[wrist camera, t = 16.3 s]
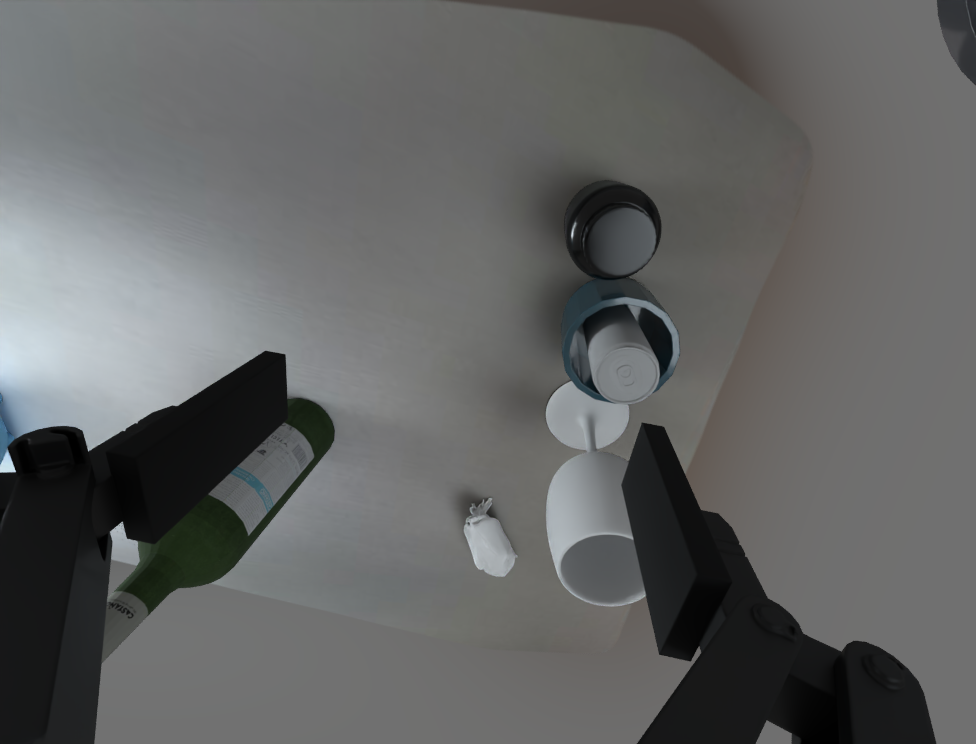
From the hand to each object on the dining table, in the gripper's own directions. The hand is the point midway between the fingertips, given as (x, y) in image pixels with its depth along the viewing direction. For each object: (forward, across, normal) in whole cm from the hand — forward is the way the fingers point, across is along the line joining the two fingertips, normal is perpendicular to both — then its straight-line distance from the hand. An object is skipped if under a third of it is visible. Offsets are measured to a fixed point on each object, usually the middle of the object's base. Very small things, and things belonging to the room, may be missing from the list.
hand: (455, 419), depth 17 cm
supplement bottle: (+29, +7, +5) cm, 31 cm away
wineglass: (+29, +10, -14) cm, 34 cm away
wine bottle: (+30, -22, -23) cm, 43 cm away
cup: (+29, +10, -4) cm, 31 cm away
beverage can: (+29, +10, -4) cm, 31 cm away
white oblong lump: (+30, +3, -33) cm, 44 cm away
